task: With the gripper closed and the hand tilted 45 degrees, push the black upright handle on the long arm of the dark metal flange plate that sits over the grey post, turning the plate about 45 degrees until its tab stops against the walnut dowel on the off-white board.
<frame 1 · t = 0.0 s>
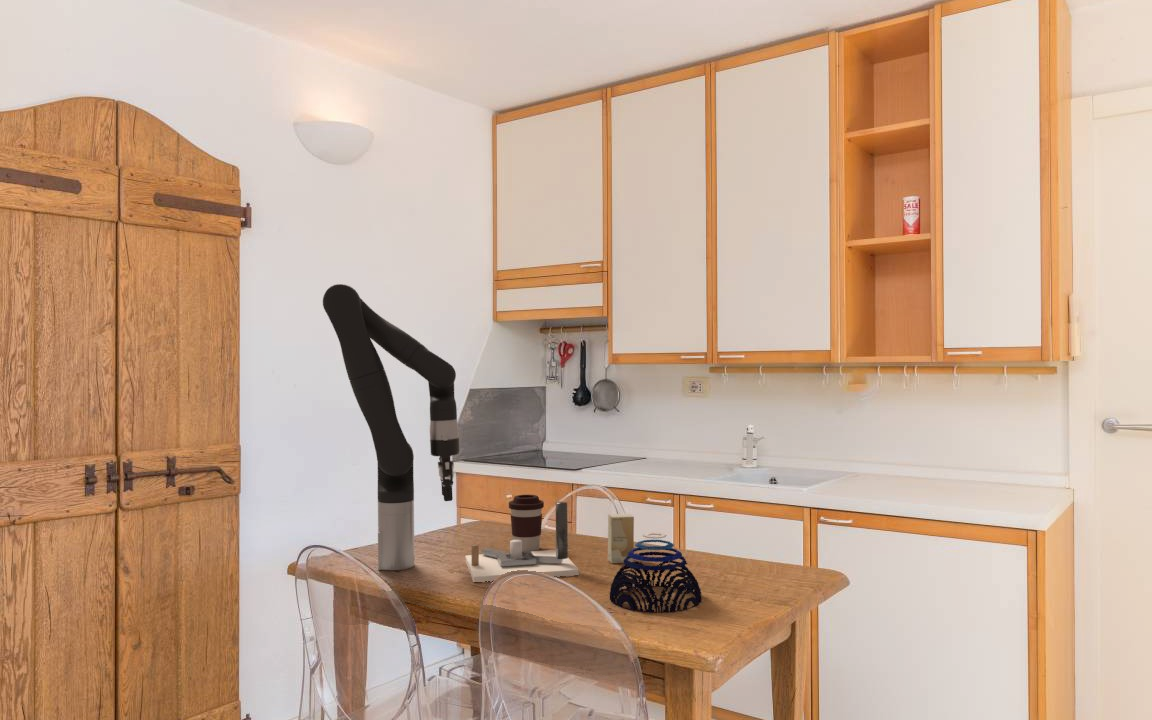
hand: (447, 498, 212), 17 cm above the table, tool pointing down, fingers open, 8 cm apart
decorative bowl: (654, 600, 179), on the table
skincare box: (621, 562, 212), on the table
post base: (516, 568, 206), on the table
coffee cup: (526, 550, 227), on the table
flange: (523, 528, 209), point 9 cm above the table, hinge at 0.0°
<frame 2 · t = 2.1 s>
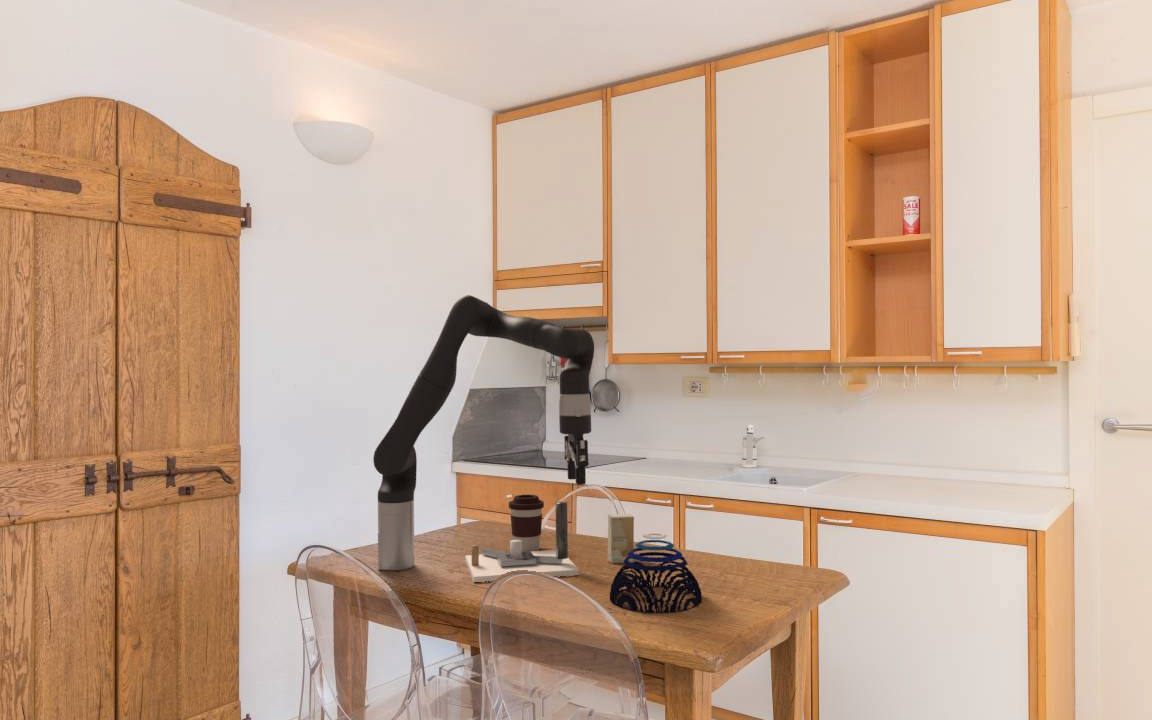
hand: (576, 481, 189), 25 cm above the table, tool pointing down, fingers open, 8 cm apart
nothing on the table moved.
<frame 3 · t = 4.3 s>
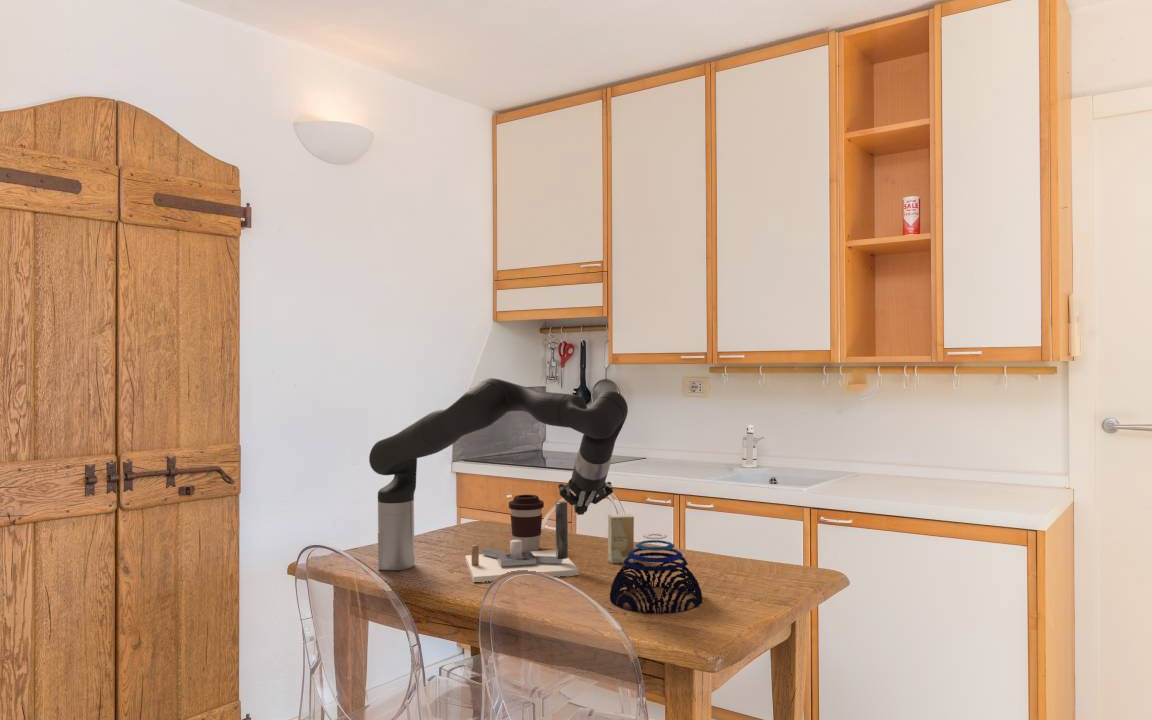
hand: (579, 511, 187), 18 cm above the table, tool tilted 45°, fingers closed
nothing on the table moved.
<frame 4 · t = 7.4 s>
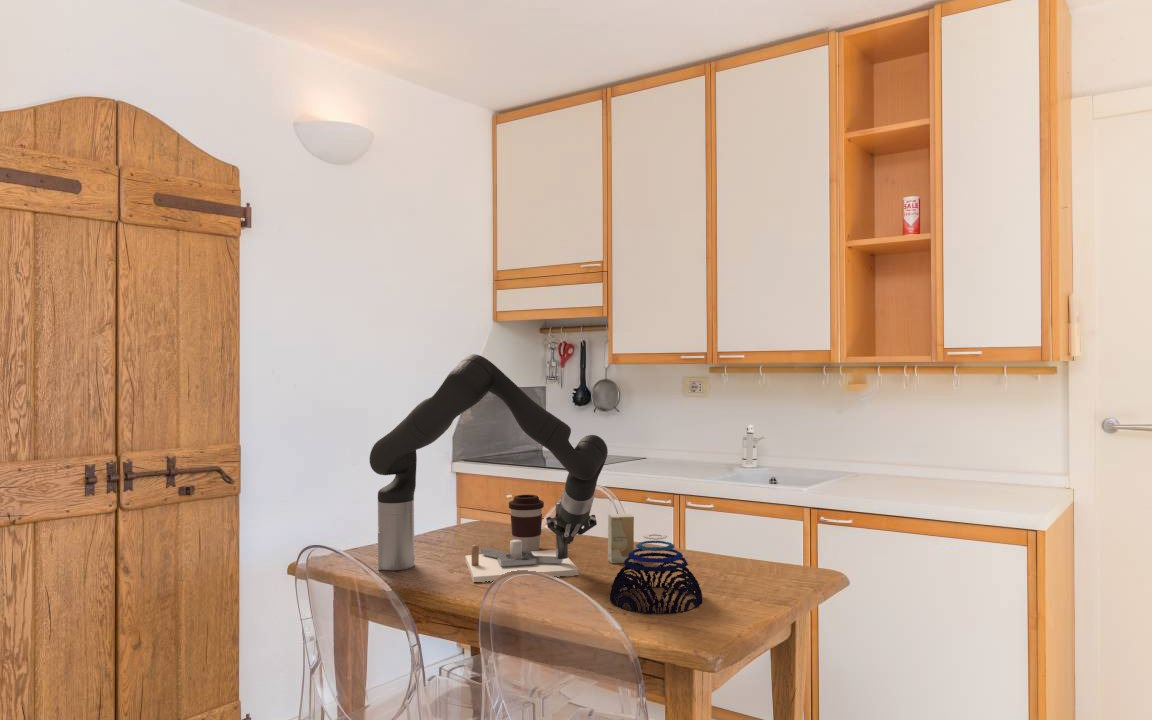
hand: (566, 541, 202), 8 cm above the table, tool tilted 45°, fingers closed
flange: (523, 528, 209), point 9 cm above the table, hinge at 0.3°, touching gripper
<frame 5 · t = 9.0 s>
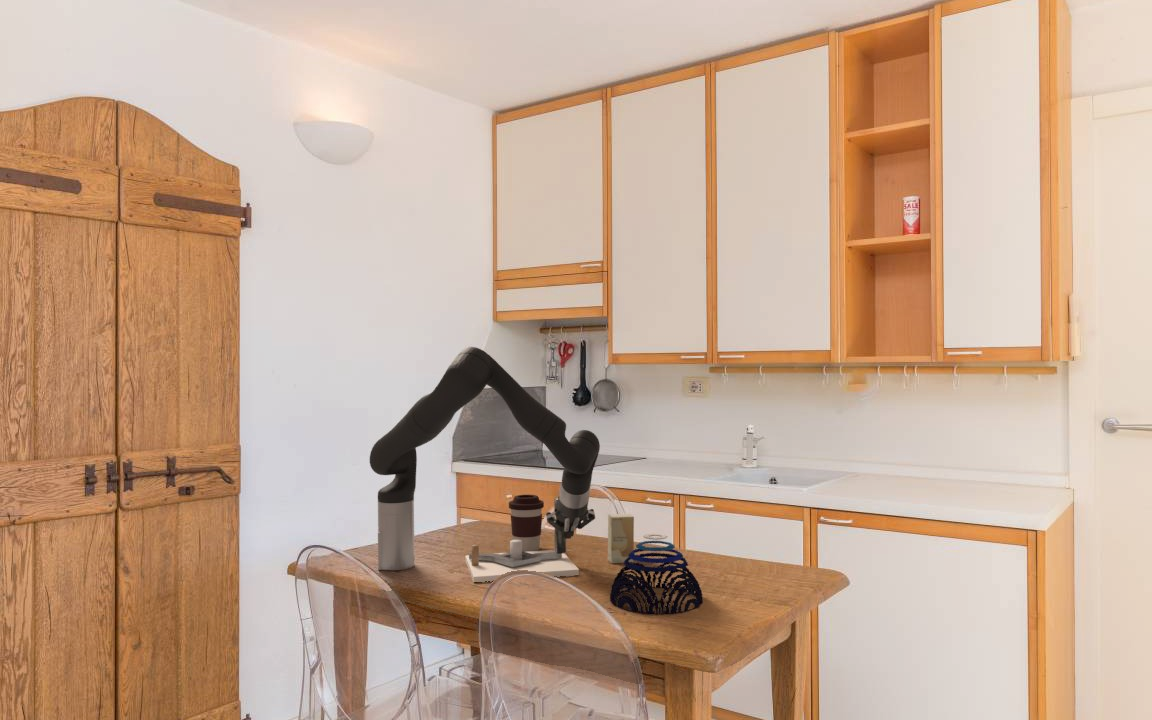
hand: (567, 535, 208), 8 cm above the table, tool tilted 45°, fingers closed
flange: (517, 528, 209), point 9 cm above the table, hinge at 28.7°, touching gripper
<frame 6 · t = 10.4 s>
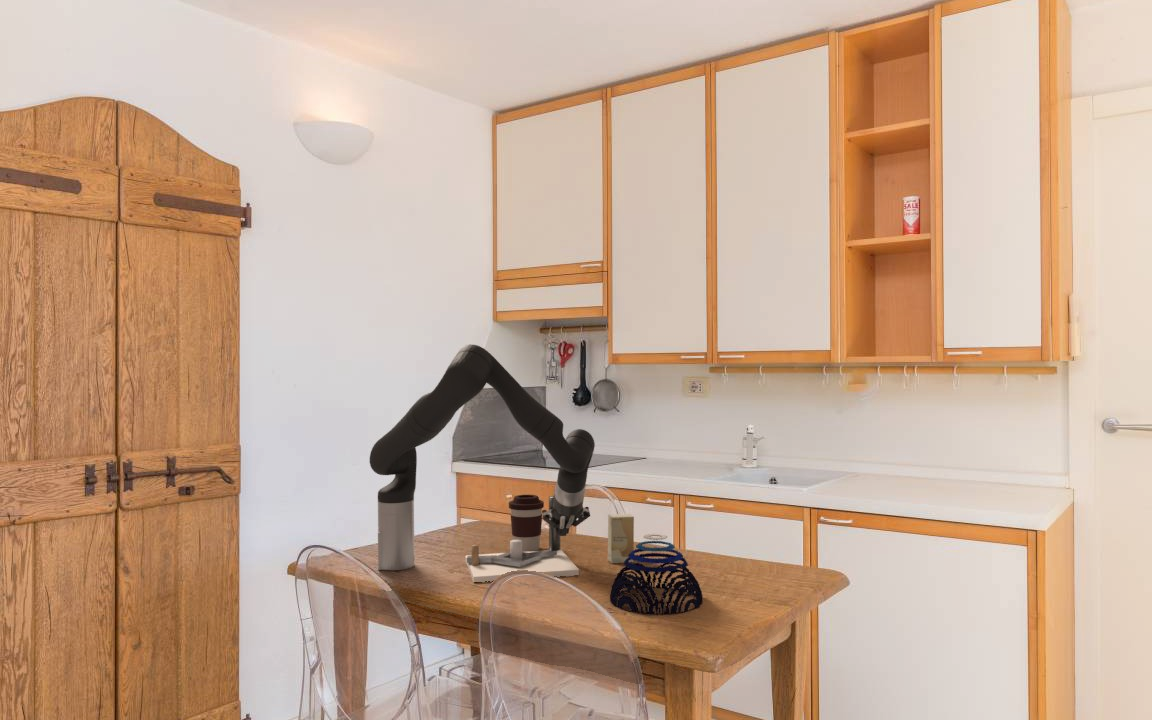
hand: (562, 533, 212), 8 cm above the table, tool tilted 45°, fingers closed
flange: (513, 528, 209), point 9 cm above the table, hinge at 45.0°, touching gripper, post base
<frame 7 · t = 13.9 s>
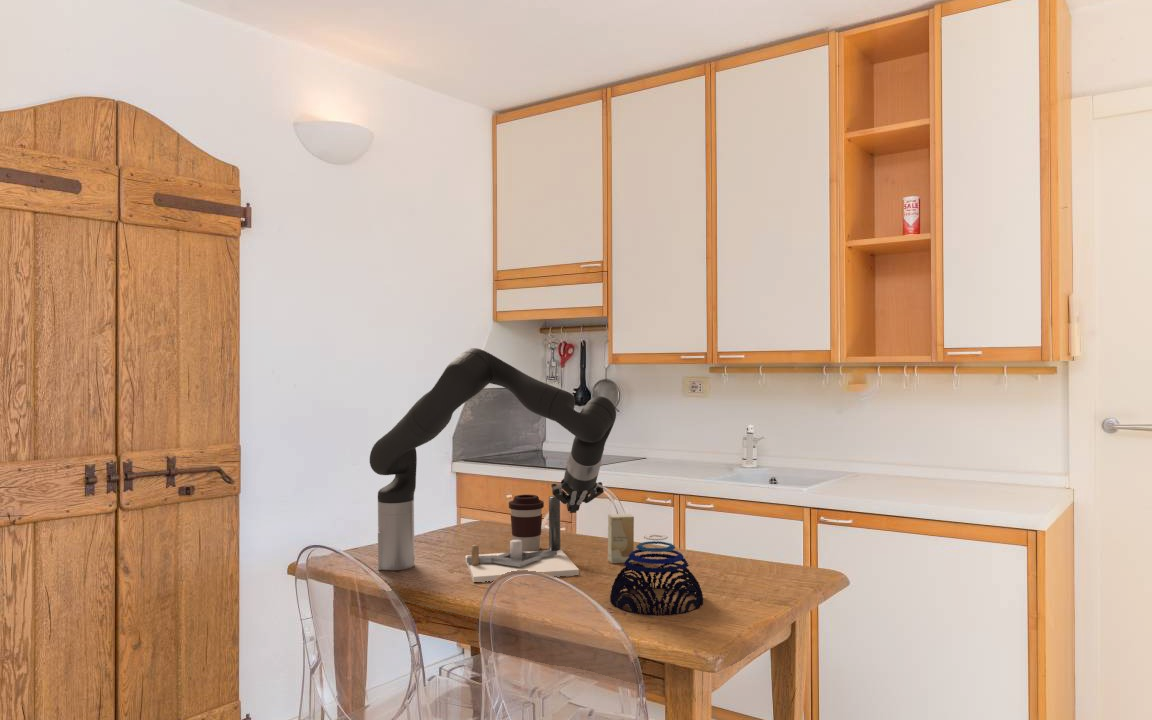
hand: (572, 509, 195), 17 cm above the table, tool tilted 45°, fingers closed
flange: (513, 528, 209), point 9 cm above the table, hinge at 45.0°, touching post base
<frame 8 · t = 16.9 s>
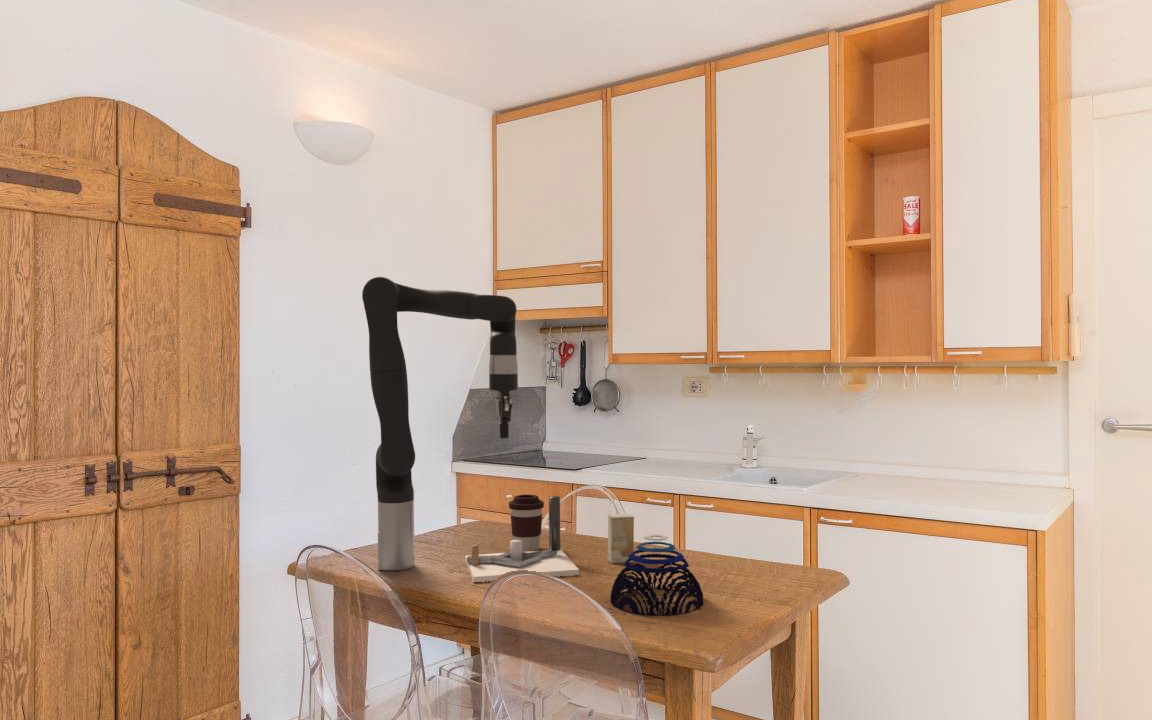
hand: (504, 438, 212), 33 cm above the table, tool pointing down, fingers closed
at the end: flange at +45° (first picture: +0°); flange touching post base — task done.
